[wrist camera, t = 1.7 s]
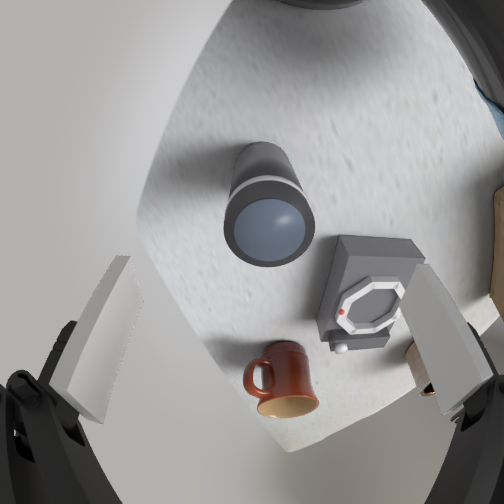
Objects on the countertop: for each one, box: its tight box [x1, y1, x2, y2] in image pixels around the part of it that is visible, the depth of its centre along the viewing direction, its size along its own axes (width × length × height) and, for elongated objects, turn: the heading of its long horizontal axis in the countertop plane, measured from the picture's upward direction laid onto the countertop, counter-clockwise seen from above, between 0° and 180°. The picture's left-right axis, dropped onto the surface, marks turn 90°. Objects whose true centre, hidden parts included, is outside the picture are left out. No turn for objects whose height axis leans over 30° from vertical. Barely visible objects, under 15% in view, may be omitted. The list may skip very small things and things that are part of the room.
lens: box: [224, 142, 315, 267], centre depth 20 cm, size 5×5×12 cm
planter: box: [406, 341, 435, 396], centre depth 39 cm, size 11×11×10 cm
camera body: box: [316, 235, 426, 354], centre depth 31 cm, size 14×10×7 cm
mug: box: [243, 342, 319, 418], centre depth 37 cm, size 12×9×10 cm
